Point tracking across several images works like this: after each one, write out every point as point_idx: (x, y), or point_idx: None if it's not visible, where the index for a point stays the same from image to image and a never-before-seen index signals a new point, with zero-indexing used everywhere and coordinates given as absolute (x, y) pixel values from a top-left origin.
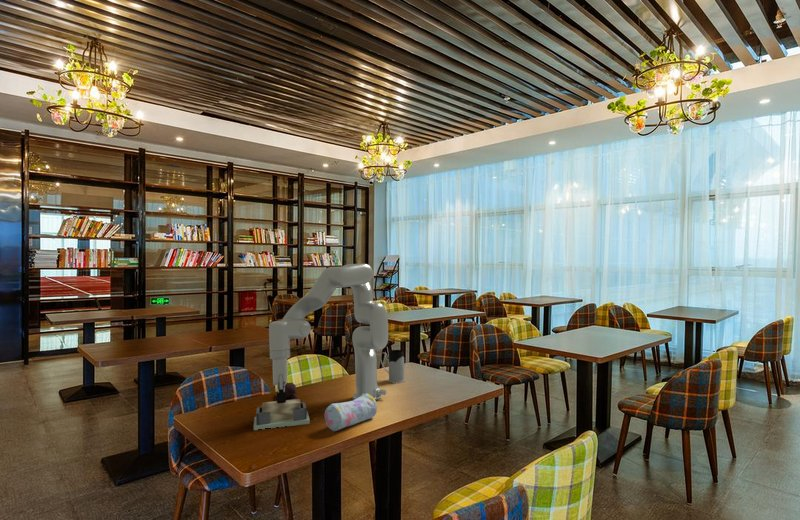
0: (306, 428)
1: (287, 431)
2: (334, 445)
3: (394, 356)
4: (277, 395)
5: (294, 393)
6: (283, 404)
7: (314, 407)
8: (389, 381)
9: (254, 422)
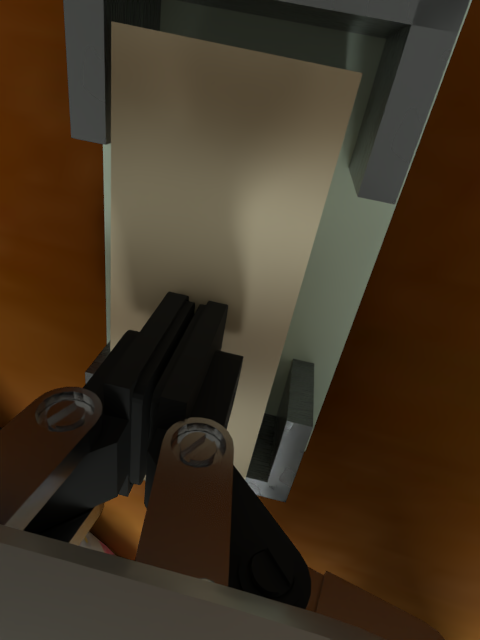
0: (42, 345)
1: (14, 230)
2: None
3: None
4: (128, 356)
5: None
6: (112, 336)
7: (440, 507)
8: None
9: None
